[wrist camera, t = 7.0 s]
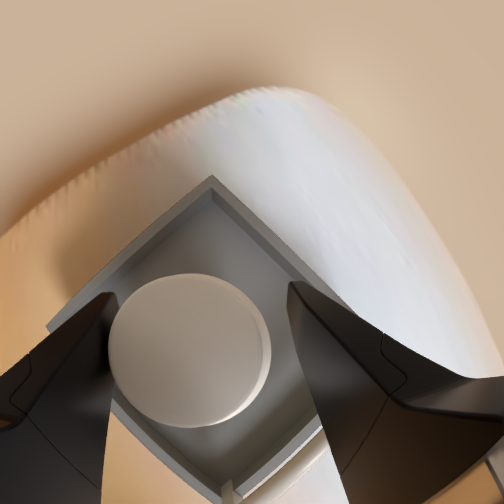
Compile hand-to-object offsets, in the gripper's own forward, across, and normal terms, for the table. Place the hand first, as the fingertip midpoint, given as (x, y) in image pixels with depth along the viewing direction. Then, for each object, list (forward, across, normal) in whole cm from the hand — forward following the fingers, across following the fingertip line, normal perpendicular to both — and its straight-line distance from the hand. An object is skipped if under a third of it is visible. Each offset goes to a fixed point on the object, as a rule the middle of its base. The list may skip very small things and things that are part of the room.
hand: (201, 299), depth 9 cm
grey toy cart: (+7, 0, +9) cm, 12 cm away
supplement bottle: (+5, +1, +7) cm, 9 cm away
